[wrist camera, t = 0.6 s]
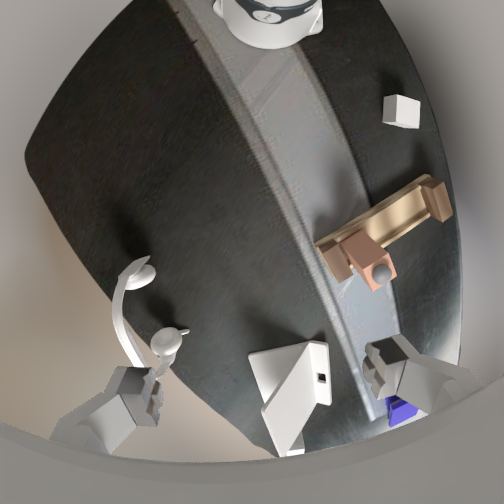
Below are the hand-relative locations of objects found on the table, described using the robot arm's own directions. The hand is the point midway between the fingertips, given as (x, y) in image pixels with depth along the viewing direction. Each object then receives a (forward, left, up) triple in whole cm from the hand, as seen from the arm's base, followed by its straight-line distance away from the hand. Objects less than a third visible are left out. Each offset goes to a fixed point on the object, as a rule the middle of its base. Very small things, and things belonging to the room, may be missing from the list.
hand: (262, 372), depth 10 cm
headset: (+25, -13, -40) cm, 49 cm away
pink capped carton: (+6, +21, -37) cm, 43 cm away
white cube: (-20, +23, -40) cm, 50 cm away
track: (+1, +26, -40) cm, 47 cm away
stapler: (+54, +62, -40) cm, 91 cm away
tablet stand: (+44, +21, -40) cm, 63 cm away
